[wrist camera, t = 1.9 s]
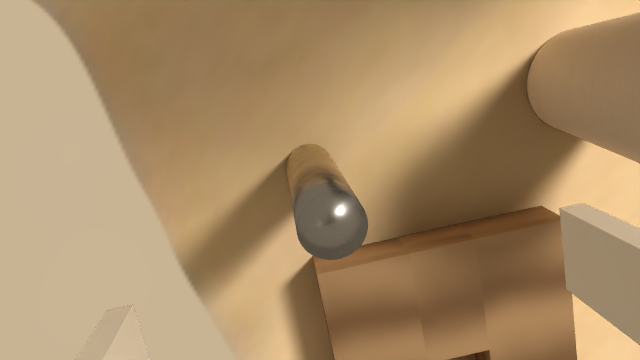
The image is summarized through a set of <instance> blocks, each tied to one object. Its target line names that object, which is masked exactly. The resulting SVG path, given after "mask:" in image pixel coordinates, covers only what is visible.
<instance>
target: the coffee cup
mask: <svg viewBox="0 0 640 360" xmlns="http://www.w3.org/2000/svg"><path fill="white" fill-rule="evenodd" d="M527 93H528V98H529V101H530V104H531V106H532V108H533V110H534V112H535V113H536V114H537V116H538V117H539V118H540V119H541V120H542V121H544V122H545V123H546V124H548V125H550V126H552V127H554V128H556V129H559V130H561V131H564V132H566V133H568V134H571V135H573V136H576V137H578V138H581V139H583V140H585V141H588V142H590V143H593V144H595V145H597V146H600V147H602V148H605V149H607V150H609V151H612V152H614V153H617V154H619V155H621V156H624V157H626V158H629V159H631V160H633V161H636V162H638V163H640V13H636V14H632V15H628V16H624V17H620V18H616V19H611V20H607V21H603V22H599V23H595V24H591V25H587V26H583V27H579V28H574V29H571V30H567V31H564V32H562V33H559V34H557V35H556V36H554V37H553V38H551V39H550V40H549V41H547V42H546V43H545V44H544V45H543V46H542V47H541V49H540V50H539V51H538V53H537V54H536V56H535V57H534V59H533V61H532V63H531V66H530V69H529V73H528V78H527Z"/></svg>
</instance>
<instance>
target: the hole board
mask: <svg viewBox="0 0 640 360" xmlns="http://www.w3.org/2000/svg"><path fill="white" fill-rule="evenodd" d="M313 261H314V265H315V270H316V275H317V279H318V284H319V289H320V294H321V298H322V303H323V308H324V312H325V317H326V322H327V326H328V331H329V336H330V341H331V345H332V350H333V355H334V359H335V360H448V359H452V358H457V357H461V356H465V355H469V354H474V353H476V360H577V353H576V340H575V328H574V316H573V303H572V293H571V292H570V291H568V290H567V289H566V279H565V267H564V256H563V244H562V233H561V221H560V216H559V215H557V214H556V213H554V212H552V211H550V210H548V209H546V208H544V207H543V206H538V207H533V208H529V209H524V210H520V211H515V212H511V213H506V214H502V215H497V216H493V217H488V218H484V219H479V220H475V221H470V222H466V223H461V224H457V225H452V226H448V227H443V228H439V229H434V230H430V231H425V232H421V233H416V234H412V235H407V236H403V237H398V238H394V239H389V240H385V241H380V242H375V243H371V244H366V245H362V246H360V247H359V248H358V249H357V250H356V251H355V252H353V253H352V254H350V255H349V256H347V257H344V258H341V259H337V260H324V259H320V258H317V257H315V256H313Z"/></svg>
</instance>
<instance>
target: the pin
mask: <svg viewBox="0 0 640 360" xmlns="http://www.w3.org/2000/svg"><path fill="white" fill-rule="evenodd" d="M286 171H287V177H288V183H289V189H290V195H291V201H292V207H293V212H294V218H295V224H296V230H297V235H298V239H299V241H300V243H301V244H302V246H303V247H304V248H305V250H306V251H308V252H309V253H310V254H312V255H313V256H315V257H317V258H320V259H324V260H337V259H341V258H344V257H347V256H349V255H350V254H352V253H353V252H355V251H356V250H357V249H358V248H359V247H360V245H361V244H362V243H363V241H364V239H365V237H366V234H367V229H368V221H367V216H366V213H365V210H364V208H363V207H362V205H361V204H360V202H359V200H358V199H357V197H356V196H355V194H354V193H353V191H352V190H351V188H350V186H349V185H348V183H347V182H346V180H345V179H344V177H343V175H342V174H341V172H340V171H339V169H338V168H337V166H336V164H335V163H334V161H333V160H332V158H331V157H330V155H329V154H328V152H327V151H326V150H325V149H323V148H322V147H320V146H317V145H313V144H307V145H302V146H300V147H298V148H296V149H295V150H294V151H293V152H292V153H291V154H290V156H289V158H288V160H287V164H286Z"/></svg>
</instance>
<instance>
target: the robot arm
mask: <svg viewBox="0 0 640 360" xmlns="http://www.w3.org/2000/svg"><path fill="white" fill-rule="evenodd" d="M559 210H560V221H561V233H562V244H563V256H564V267H565V279H566V289H567V290H568V291H570V292H571V293H572V294H573V295H575V296H576V297H577V298H579V299H580V300H581V301H583V302H584V303H585V304H587V305H588V306H589V307H590V308H592V309H593V310H594V311H596V312H597V313H598V314H600V315H601V316H602V317H604V318H605V319H606V320H607V321H609V322H610V323H611V324H613V325H614V326H615V327H617V328H618V329H619V330H621V331H622V332H623V333H624V334H626V335H627V336H628V337H630V338H631V339H632V340H634V341H635V342H636V343H638V344H639V345H640V228H638V227H636V226H633V225H631V224H629V223H627V222H625V221H622V220H620V219H618V218H616V217H614V216H611V215H609V214H607V213H605V212H602V211H600V210H598V209H596V208H594V207H591V206H589V205H587V204H585V203H580V204H575V205H571V206H566V207H562V208H559ZM76 360H150V357H149V354H148V351H147V348H146V345H145V342H144V338H143V335H142V332H141V329H140V326H139V322H138V319H137V316H136V313H135V310H134V306H133V304H132V305H128V306H123V307H119V308H115V309H110V310H107V311H106V312H105V314H104V316H103V317H102V319H101V320H100V322H99V323H98V325H97V326H96V328H95V330H94V331H93V333H92V334H91V336H90V337H89V339H88V341H87V342H86V344H85V345H84V347H83V349H82V350H81V352H80V353H79V355H78V356H77V358H76Z"/></svg>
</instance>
